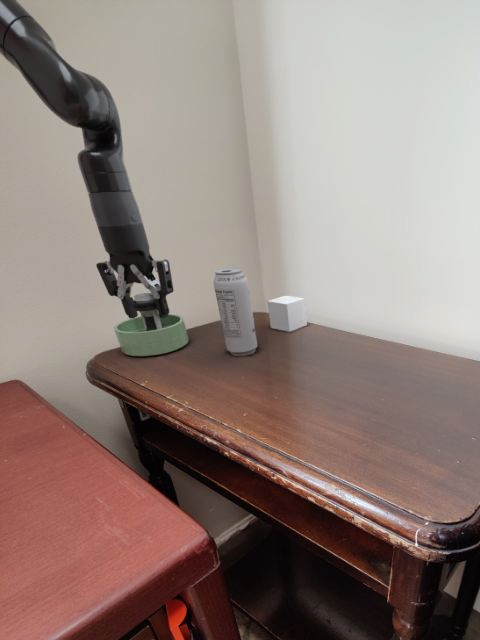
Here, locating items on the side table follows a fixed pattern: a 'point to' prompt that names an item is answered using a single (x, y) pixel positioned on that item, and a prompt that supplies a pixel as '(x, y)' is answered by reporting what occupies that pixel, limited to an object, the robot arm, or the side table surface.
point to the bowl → (151, 336)
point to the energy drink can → (235, 311)
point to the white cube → (287, 313)
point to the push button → (147, 311)
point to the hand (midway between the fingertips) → (148, 317)
